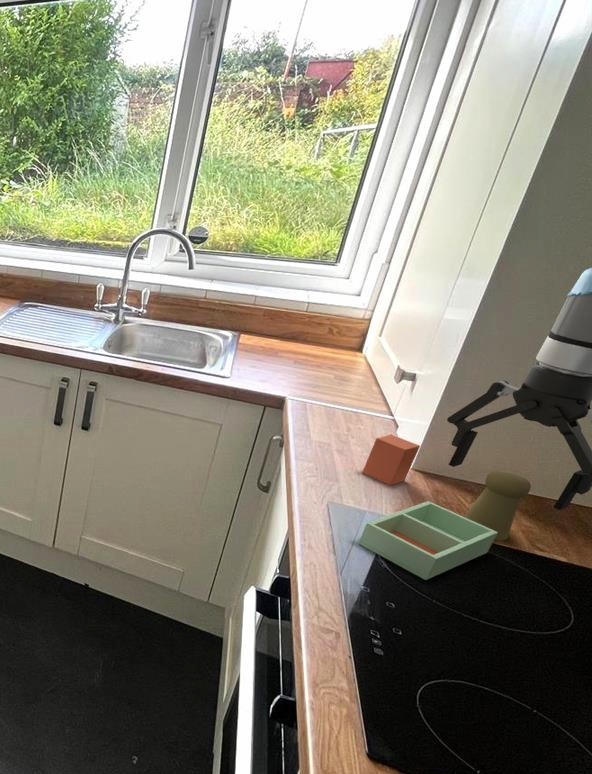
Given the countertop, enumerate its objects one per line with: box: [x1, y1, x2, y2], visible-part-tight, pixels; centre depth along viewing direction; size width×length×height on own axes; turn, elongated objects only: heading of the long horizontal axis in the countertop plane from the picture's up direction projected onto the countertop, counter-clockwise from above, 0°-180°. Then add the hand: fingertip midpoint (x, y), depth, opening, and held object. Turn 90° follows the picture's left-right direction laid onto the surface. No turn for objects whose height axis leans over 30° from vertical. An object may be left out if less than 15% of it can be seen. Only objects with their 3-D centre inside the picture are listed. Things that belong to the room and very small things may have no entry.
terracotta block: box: [361, 434, 421, 486], centre depth 115 cm, size 5×5×8 cm
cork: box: [463, 469, 532, 541], centre depth 99 cm, size 6×6×11 cm
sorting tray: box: [357, 500, 498, 581], centre depth 95 cm, size 18×9×4 cm, turn 113°
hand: (504, 484), depth 98 cm, fingers open, 13 cm apart
